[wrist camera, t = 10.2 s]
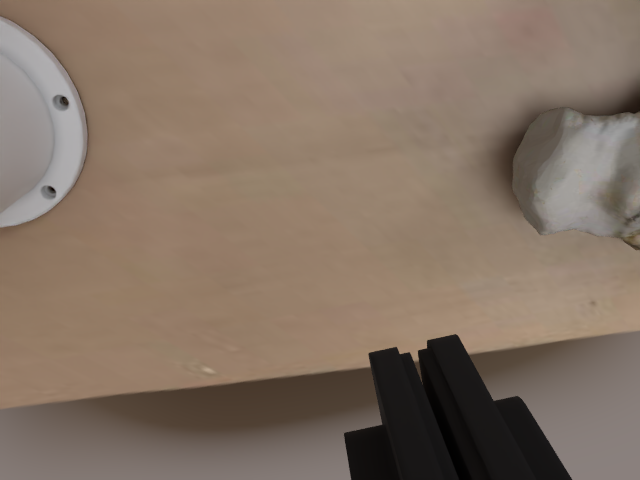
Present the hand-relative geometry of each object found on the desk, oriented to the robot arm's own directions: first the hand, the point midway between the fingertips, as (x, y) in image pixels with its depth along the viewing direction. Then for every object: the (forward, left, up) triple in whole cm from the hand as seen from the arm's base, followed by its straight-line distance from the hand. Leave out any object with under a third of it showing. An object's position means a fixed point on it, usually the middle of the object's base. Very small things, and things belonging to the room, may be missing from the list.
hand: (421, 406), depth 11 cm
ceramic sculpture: (+17, -6, -26) cm, 31 cm away
